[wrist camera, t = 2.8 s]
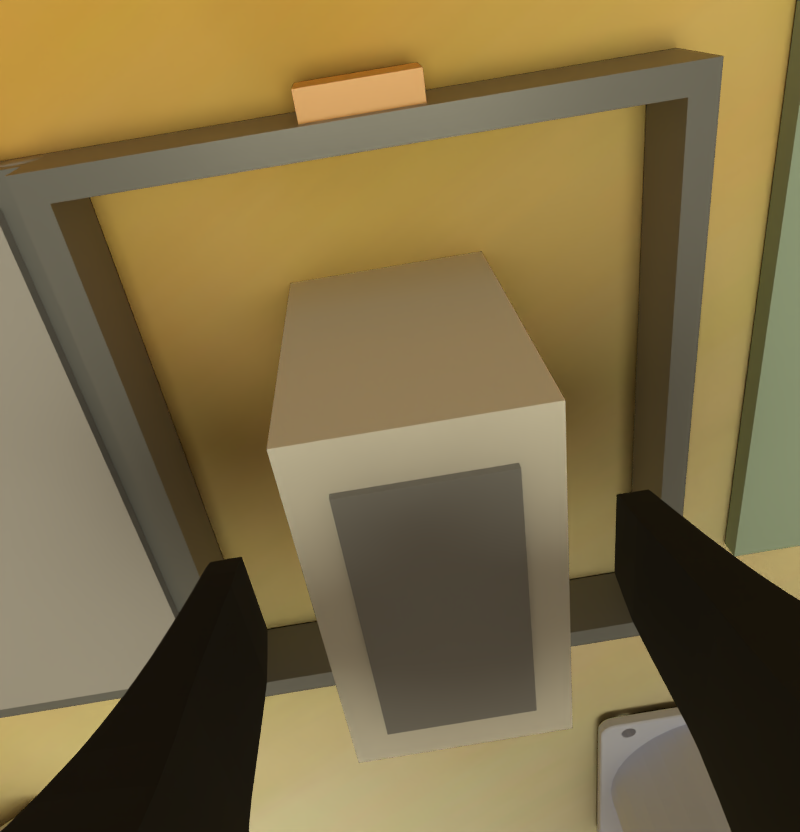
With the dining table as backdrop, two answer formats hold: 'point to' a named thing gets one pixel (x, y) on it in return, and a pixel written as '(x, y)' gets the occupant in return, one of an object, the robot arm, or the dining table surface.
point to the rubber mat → (774, 360)
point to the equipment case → (145, 406)
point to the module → (427, 504)
